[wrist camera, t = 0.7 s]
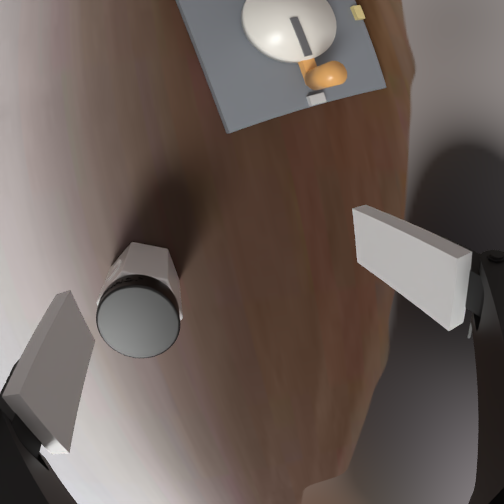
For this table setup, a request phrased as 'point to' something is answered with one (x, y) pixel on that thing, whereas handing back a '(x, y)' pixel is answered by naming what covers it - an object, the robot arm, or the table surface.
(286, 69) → the panel
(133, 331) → the jar
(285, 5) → the dial
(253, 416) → the table surface
